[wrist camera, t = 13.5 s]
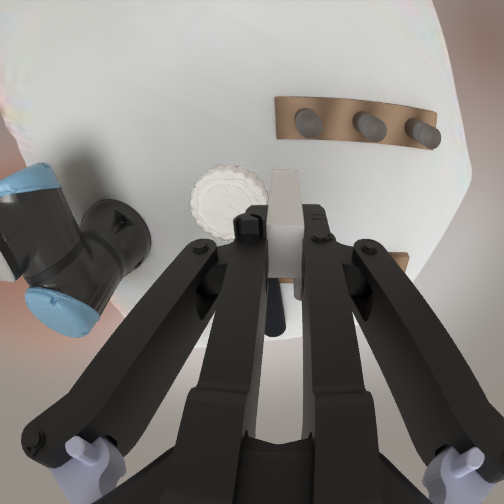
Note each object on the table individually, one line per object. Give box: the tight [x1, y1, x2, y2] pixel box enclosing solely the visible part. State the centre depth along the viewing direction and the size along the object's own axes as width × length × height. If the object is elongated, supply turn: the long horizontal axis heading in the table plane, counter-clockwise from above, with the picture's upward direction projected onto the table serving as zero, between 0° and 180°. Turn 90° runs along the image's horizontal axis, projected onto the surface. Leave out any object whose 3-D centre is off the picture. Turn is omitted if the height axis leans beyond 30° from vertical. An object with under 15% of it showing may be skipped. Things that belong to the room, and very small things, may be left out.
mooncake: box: [189, 164, 268, 240], centre depth 43 cm, size 12×12×4 cm
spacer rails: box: [275, 97, 441, 301], centre depth 39 cm, size 24×32×8 cm
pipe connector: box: [264, 278, 286, 337], centre depth 55 cm, size 12×5×15 cm
